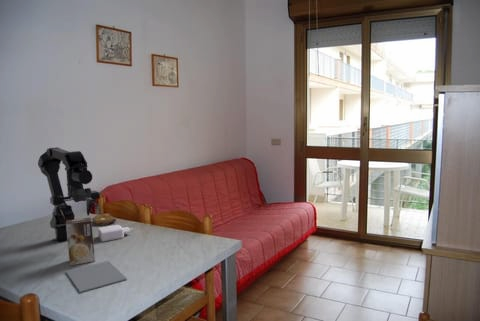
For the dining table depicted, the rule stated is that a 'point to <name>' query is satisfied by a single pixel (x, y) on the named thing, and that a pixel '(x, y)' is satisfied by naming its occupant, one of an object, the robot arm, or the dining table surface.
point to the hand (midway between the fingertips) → (77, 217)
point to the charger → (112, 232)
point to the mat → (95, 276)
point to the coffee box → (80, 241)
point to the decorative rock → (103, 219)
